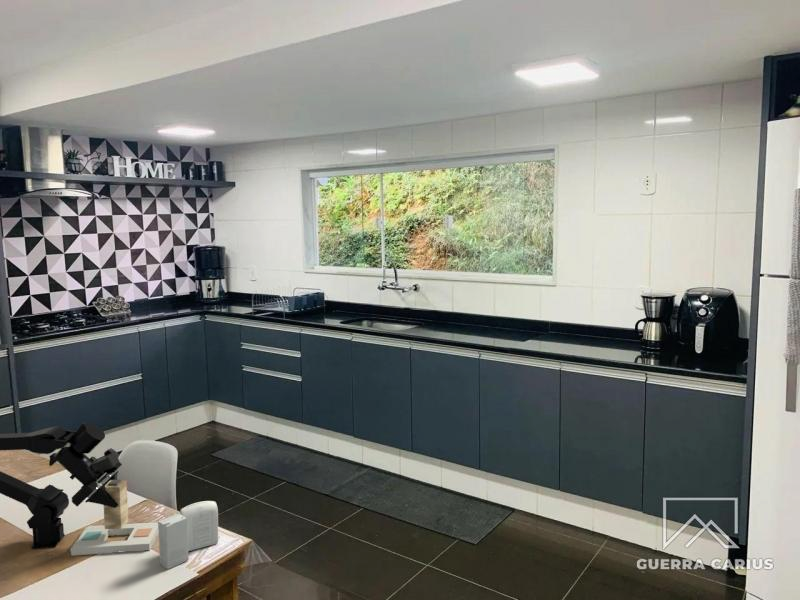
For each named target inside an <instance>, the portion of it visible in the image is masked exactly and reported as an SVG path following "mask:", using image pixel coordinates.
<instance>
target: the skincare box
mask: <svg viewBox="0 0 800 600" xmlns="http://www.w3.org/2000/svg"><path fill="white" fill-rule="evenodd" d="M157 522H158V531H159V533H158V545H159V546H158V548H159V549H158V550H159V562H160V563H159V564H160V565H161V566H162V567H163V568H165V569H167V570H169V569H172V568H174V567H176V566H179V565H182V564H183V563H185V562H186V561H187V562H188V561H189V558H190V557H189V551H188V534H187V518H186V517H184V516H182V515H181V514H180V513H176V514H174V515H172V516H168V517H166V518H163V519H161V520H158V521H157Z"/></svg>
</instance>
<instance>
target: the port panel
mask: <svg viewBox="0 0 800 600" xmlns="http://www.w3.org/2000/svg"><path fill="white" fill-rule="evenodd" d="M115 535H116V536H128V538H127V539H126V540H113V541H109V540H108V541H107V540H106V539H108V538H109V537H112V536H115ZM108 536H109V537H108ZM158 536H159V531H158V521H157V522H145V523H144V522H142V523H141V522H140V523H138V522H137V523H126V524H125V525H124V526H123V528H122V529H105V525H104V524H103V525H89V526H88V525H87V527H86V528H85V529H84V531H83V532H82V533H81V534H80V536H79V537H78V538H77V540H76V541H75V542H74V543H73V545H72V546H71V547H70V556H85V555H87V556H88V555H101V553H104V554H111V553H110V552H119V551H135V552H141V551H140V550H151V548H152V546H153V545H154V542H155V541H156V539H157V537H158ZM119 553H120V552H119Z"/></svg>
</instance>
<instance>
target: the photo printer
mask: <svg viewBox="0 0 800 600" xmlns="http://www.w3.org/2000/svg"><path fill="white" fill-rule="evenodd" d="M179 514H181V515H182V516H184V517H186V518H187V534H188V552H190V551H194V550H198V549H203V548H206V547H210V546H213V545H215V544H216V545H217V544H218V543H219V508H218V505H217V502H216V501H215V500H214V501H213V500H205V501H198V502H194V503H191V504H189V505H186V506H185V507H182V508H180V511H179Z"/></svg>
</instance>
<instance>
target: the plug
mask: <svg viewBox="0 0 800 600" xmlns="http://www.w3.org/2000/svg"><path fill="white" fill-rule="evenodd" d="M105 490H106V491H107V492H108V494H109V495H110V496H111V497H112V498H113V499H114V500H115V501H116V502H117V504H118V506H117V507H116V508H113V507H109V506H105V505H103V518H104V519H103V521H104V522H103V523H104V524H103V525H105V529H122V528H123V526H124V525H125V524H128V521H129V509H128V508H129V507H128V506H129V505H128V482H127V479H126V480H125V479H124V480H121V479H117V480H110V481H109V482H108V483H107V484H106V485H105Z"/></svg>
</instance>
